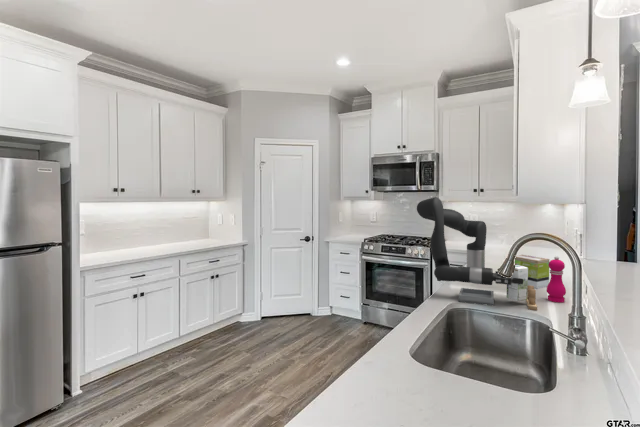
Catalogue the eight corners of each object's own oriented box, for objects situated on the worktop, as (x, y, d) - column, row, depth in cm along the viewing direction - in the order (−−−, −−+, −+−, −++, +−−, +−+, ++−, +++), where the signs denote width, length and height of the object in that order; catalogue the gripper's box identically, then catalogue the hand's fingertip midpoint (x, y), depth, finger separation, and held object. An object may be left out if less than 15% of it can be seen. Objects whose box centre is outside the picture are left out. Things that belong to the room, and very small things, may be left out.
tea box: (509, 282, 190) (510, 255, 189) (522, 280, 194) (522, 254, 193) (537, 289, 176) (537, 259, 176) (549, 286, 180) (550, 258, 180)
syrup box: (515, 296, 157) (516, 264, 156) (527, 300, 151) (528, 267, 150) (506, 298, 155) (506, 265, 154) (517, 302, 149) (518, 268, 148)
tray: (461, 293, 169) (461, 287, 169) (493, 297, 163) (493, 290, 163) (458, 301, 157) (458, 295, 157) (493, 305, 150) (493, 298, 150)
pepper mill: (559, 298, 160) (560, 254, 159) (569, 303, 153) (570, 257, 152) (543, 298, 160) (543, 254, 160) (551, 302, 153) (552, 257, 152)
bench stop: (525, 300, 157) (526, 283, 157) (533, 301, 156) (533, 284, 156) (528, 309, 145) (528, 291, 144) (537, 310, 143) (537, 292, 143)
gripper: (480, 270, 152) (523, 274, 145) (481, 264, 165) (521, 267, 158) (480, 287, 153) (523, 292, 145) (481, 280, 165) (521, 283, 158)
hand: (522, 279), depth 152 cm, fingers closed on syrup box, 8 cm apart
